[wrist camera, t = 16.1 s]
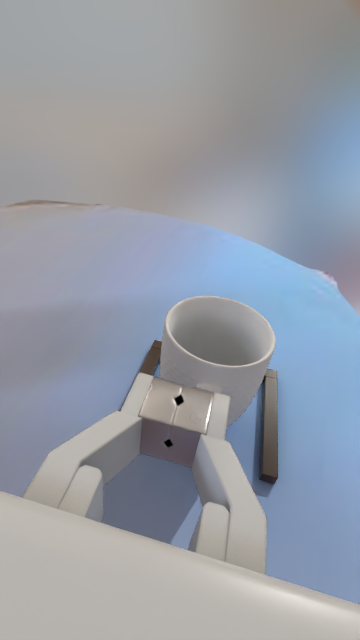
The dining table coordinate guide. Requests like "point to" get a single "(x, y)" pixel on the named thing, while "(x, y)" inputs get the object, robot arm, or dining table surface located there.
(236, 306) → the mug
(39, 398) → the dining table surface
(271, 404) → the bay rails
